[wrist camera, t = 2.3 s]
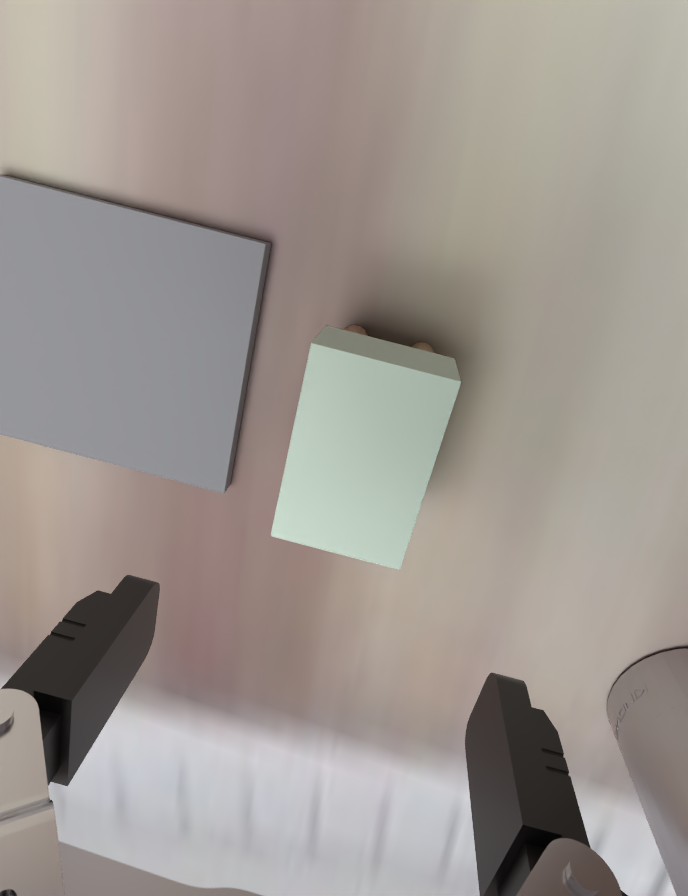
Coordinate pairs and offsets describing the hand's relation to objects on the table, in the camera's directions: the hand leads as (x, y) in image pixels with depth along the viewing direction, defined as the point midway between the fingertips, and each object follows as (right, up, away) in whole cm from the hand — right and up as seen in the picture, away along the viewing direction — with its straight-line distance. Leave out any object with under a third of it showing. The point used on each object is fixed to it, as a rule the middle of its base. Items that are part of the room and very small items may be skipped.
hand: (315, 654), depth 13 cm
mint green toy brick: (+2, +7, +18) cm, 19 cm away
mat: (-11, +11, +18) cm, 24 cm away
